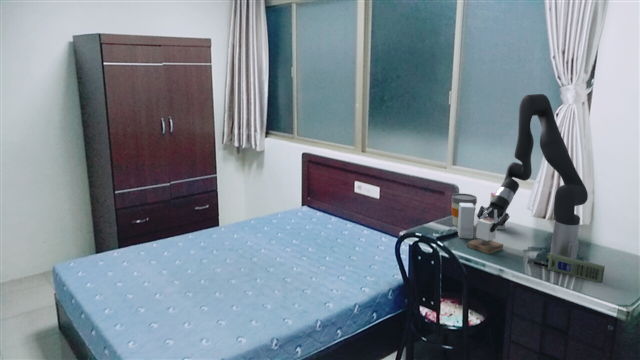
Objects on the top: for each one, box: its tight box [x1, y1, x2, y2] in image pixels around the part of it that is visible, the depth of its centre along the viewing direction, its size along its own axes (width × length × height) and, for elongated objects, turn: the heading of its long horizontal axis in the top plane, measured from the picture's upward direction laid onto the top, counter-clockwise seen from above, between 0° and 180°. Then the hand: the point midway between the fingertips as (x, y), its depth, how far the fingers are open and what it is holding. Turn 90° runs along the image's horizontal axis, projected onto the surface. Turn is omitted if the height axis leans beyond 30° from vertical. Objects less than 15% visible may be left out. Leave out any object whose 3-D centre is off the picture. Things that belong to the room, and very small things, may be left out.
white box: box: [475, 218, 497, 241], centre depth 215 cm, size 6×6×8 cm
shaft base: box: [467, 238, 504, 255], centre depth 216 cm, size 11×11×8 cm
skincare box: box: [457, 203, 476, 239], centre depth 229 cm, size 8×7×16 cm
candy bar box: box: [489, 192, 507, 231], centre depth 244 cm, size 11×5×16 cm, turn 179°
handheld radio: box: [533, 252, 606, 284], centre depth 190 cm, size 7×3×25 cm
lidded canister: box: [450, 192, 478, 227], centre depth 246 cm, size 13×13×15 cm
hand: (484, 229), depth 213 cm, fingers closed on white box, 6 cm apart
